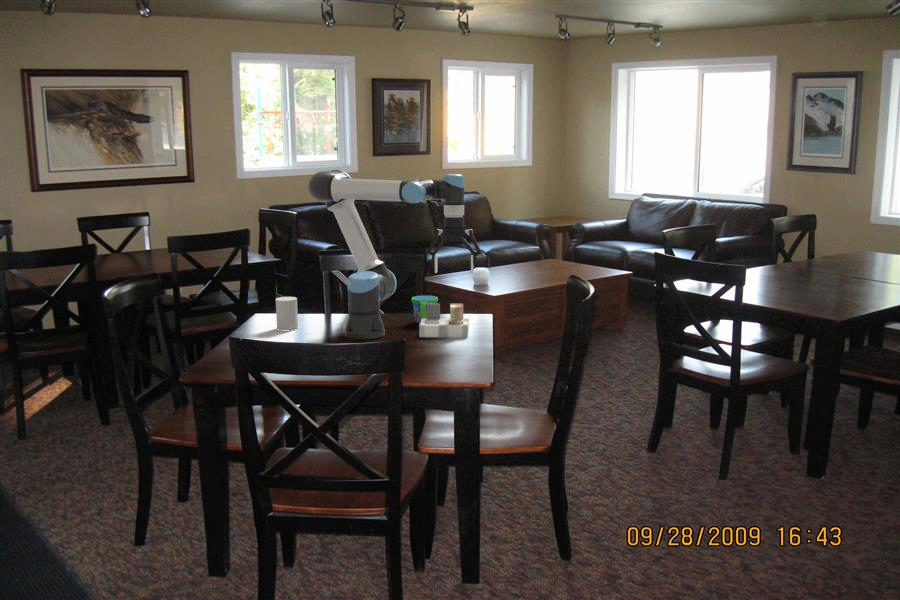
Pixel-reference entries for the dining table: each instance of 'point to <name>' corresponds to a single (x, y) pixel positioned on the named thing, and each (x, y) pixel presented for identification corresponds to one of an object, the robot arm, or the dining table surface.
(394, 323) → the dining table surface
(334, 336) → the dining table surface
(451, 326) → the socket block
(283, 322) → the white cylinder
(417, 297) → the snack cup
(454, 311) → the cream tall block
